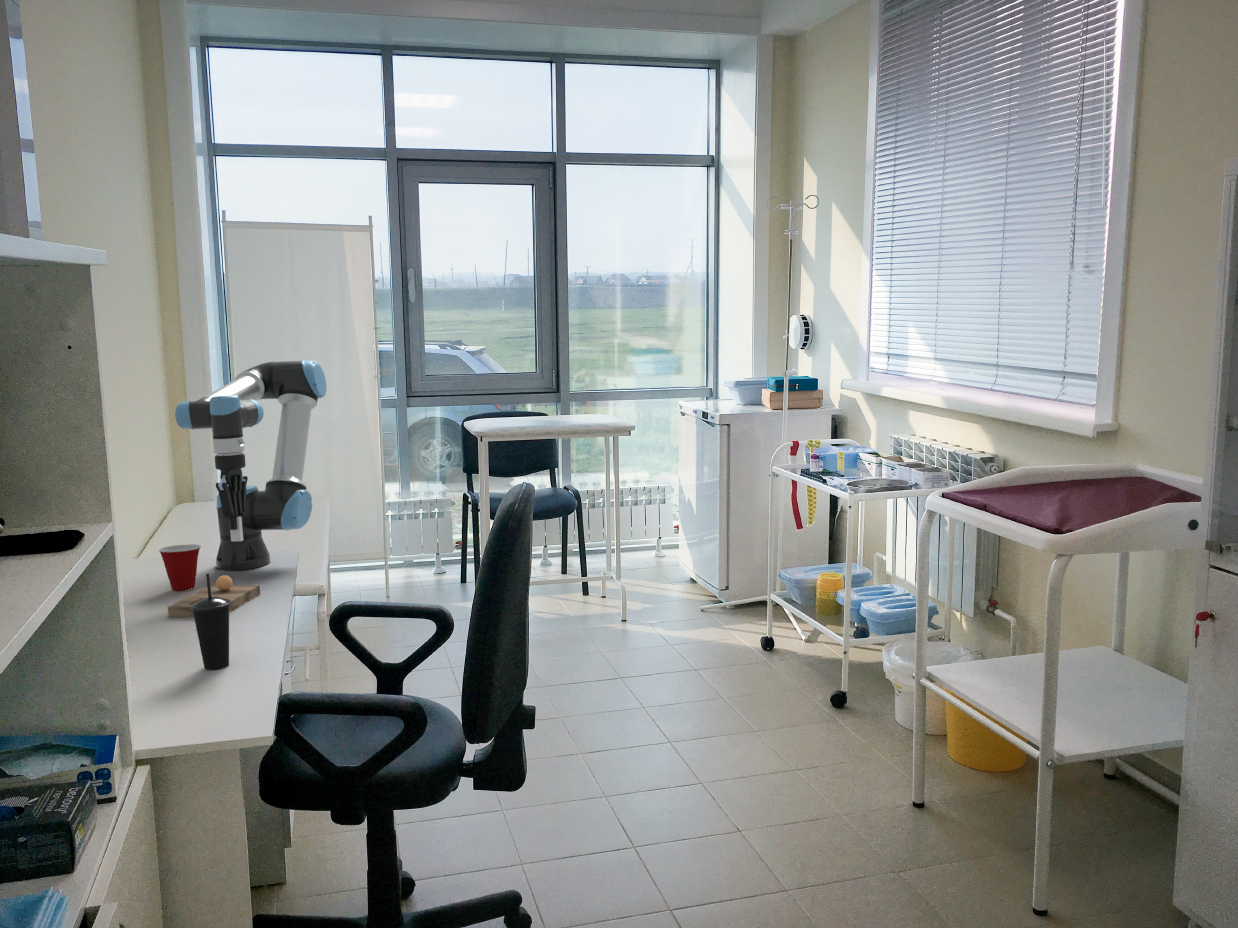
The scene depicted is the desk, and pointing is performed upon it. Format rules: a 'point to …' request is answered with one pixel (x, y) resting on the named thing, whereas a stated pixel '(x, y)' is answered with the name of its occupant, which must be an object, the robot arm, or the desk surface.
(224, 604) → the drinking cup
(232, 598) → the board
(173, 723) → the desk surface
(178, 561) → the plastic cup
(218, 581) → the ball
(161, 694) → the desk surface
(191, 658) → the desk surface
